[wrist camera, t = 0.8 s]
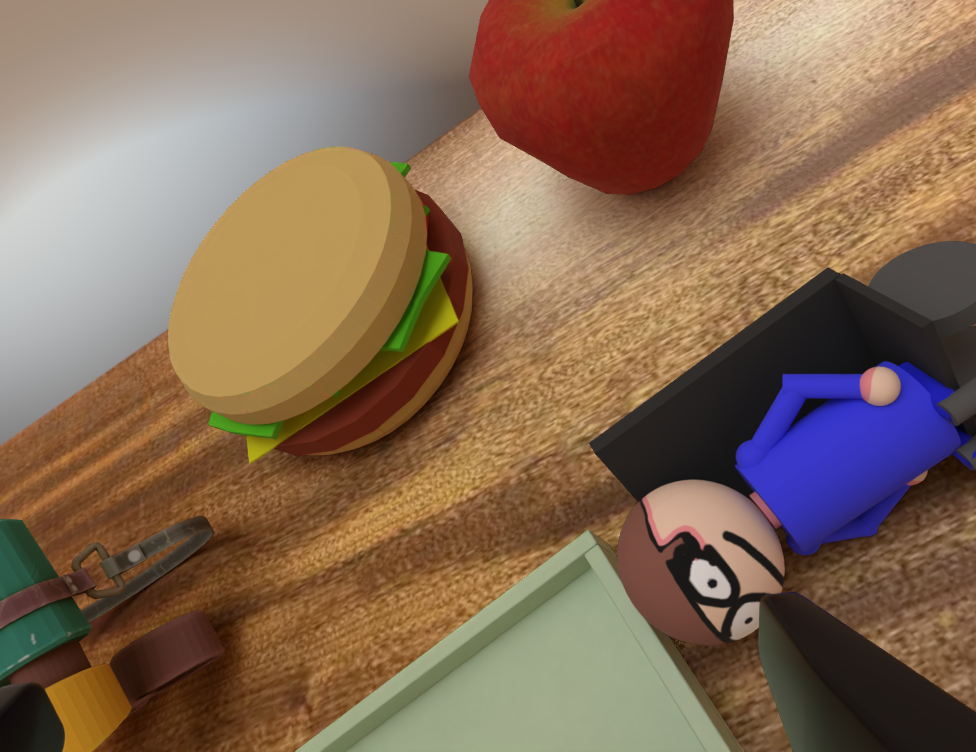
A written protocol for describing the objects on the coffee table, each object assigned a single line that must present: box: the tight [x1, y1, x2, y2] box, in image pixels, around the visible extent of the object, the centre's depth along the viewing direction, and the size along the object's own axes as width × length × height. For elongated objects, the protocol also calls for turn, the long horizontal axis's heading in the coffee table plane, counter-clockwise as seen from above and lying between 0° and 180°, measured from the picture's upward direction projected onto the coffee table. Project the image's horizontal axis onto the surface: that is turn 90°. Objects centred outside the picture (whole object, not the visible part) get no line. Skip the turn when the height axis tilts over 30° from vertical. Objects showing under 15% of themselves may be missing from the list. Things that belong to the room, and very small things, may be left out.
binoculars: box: [0, 516, 225, 752], centre depth 33 cm, size 14×14×15 cm
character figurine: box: [589, 241, 976, 645], centre depth 22 cm, size 8×7×15 cm
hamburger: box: [168, 147, 472, 464], centre depth 38 cm, size 16×16×8 cm
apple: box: [469, 0, 734, 195], centre depth 31 cm, size 11×11×12 cm
